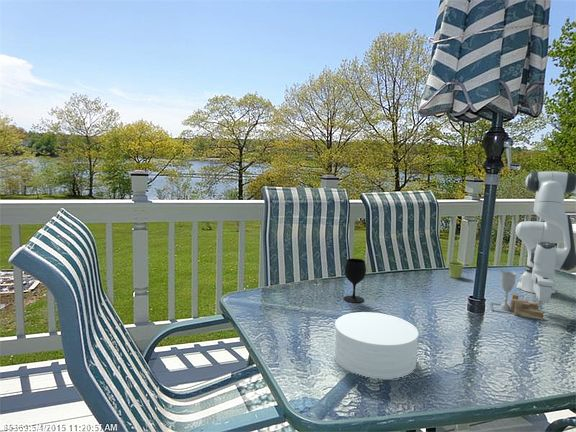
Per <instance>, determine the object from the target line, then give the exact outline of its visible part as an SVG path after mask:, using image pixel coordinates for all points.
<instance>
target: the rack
mask: <svg viewBox="0 0 576 432" xmlns="http://www.w3.org/2000/svg"><path fill="white" fill-rule="evenodd" d="M511 299H518V300H519V294H516V293H512V294H511ZM528 302H529V304H530V307H529V309H523V308H522V302H518V301H516V302H515V311H514V312H513V314H514V316H517V317H518V316H519V317H524V318H531V319H537V320H541V321H542V320H544V311H541V310H539V308H540V307H539V306H538V305H537V302H532V301H528Z"/></svg>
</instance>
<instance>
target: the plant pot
mask: <svg viewBox="0 0 576 432" xmlns="http://www.w3.org/2000/svg"><path fill="white" fill-rule="evenodd" d="M465 264H466V263H462V262H458V261H449V262H448V266H449V277H450V278H452V277H453V278H452V279H461V277H462V273H463V269H464V267H465V266H466V265H465Z"/></svg>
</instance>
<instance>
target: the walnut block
mask: <svg viewBox="0 0 576 432" xmlns="http://www.w3.org/2000/svg"><path fill="white" fill-rule="evenodd" d="M516 301H518V302H522V308H523V309H529V307H530V304H529V302H530V301H528V300H525V299H519V298H518V299H512V298H511V299H510V305H509V307H510V309H511V313H514V311H515V302H516Z"/></svg>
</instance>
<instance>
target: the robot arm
mask: <svg viewBox="0 0 576 432" xmlns="http://www.w3.org/2000/svg"><path fill="white" fill-rule="evenodd" d="M524 183H525V187H526V189H527V191H530V192H532V193H534V194H535V197H534V202H533V203H534V204H533V205H534V206H533V213H534V215H536V216H537V217H538V218H540V219H541V220H542V221H543V222H542V221H534V220H533V221H532V220H529V221H528V220H527V221H520V222H519V223H517V225H516V226H515V235H516V237H517V238H518V239H519V240H521V241H522V242H523V244H524V245H525V247H526V251H527V260H526V264H525V266H524V267H525V269H524V272H523V274H521V275H519V277H518V278H519V281H518V282H517V284H516V289H518V290H522V291H525V292H528V293H532V294H535V295H536V303H537V305H538V306H539V308H542V307H543V306H544V305H543V303H544V304H545V303H546V304H548V303H550V301H551V298H552V294H556V290H554V289H553V287H555V276H556V275H555V274H556V270H557V269H559V270H562V271H567V272H568V271H571V270H573V269H575V268H576V245H575V238H574V229H573V224H572V223H573V221H572V218H571V216H570V215H568V214H567V213H566V211H565V208H564V205H565V204H564V203H565V194H571V193H573V192H575V190H576V174H575V173H573V172H570V171H567V172H565V171H558V170H557V171H556V170H555V171H554V170H552V171H537V170H536V171H531V172H529V173H528V175H527V176H526V178H525V182H524ZM562 243H563V246H564V247H563V248H558V247H557V245H556V244H562ZM555 269H556V270H555Z"/></svg>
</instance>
